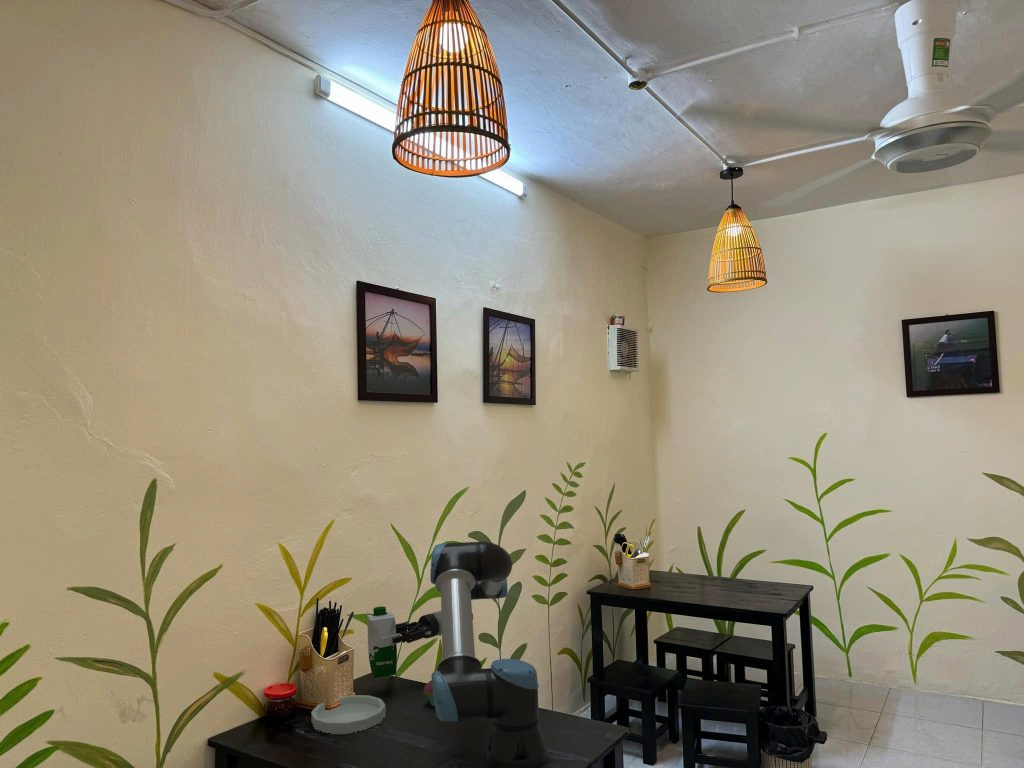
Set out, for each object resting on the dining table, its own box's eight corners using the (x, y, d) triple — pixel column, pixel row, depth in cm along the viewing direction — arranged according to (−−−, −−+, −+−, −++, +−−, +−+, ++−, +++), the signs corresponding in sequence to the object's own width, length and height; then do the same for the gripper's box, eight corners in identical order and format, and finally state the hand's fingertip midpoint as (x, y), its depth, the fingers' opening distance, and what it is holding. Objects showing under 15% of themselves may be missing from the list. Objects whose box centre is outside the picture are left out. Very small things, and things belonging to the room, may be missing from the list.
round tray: (399, 714, 209) (398, 703, 209) (345, 740, 192) (345, 728, 192) (352, 700, 221) (351, 690, 221) (297, 724, 204) (297, 713, 204)
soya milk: (395, 667, 231) (392, 604, 232) (399, 675, 222) (396, 610, 224) (367, 671, 228) (365, 608, 230) (371, 680, 220) (368, 614, 221)
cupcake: (457, 701, 217) (456, 661, 218) (440, 711, 210) (439, 670, 210) (435, 697, 221) (434, 657, 222) (418, 706, 214) (417, 666, 215)
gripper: (452, 641, 232) (394, 658, 216) (415, 630, 247) (358, 646, 231) (451, 618, 233) (393, 633, 217) (415, 608, 247) (358, 622, 231)
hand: (375, 640), depth 224 cm, fingers closed on soya milk, 7 cm apart
